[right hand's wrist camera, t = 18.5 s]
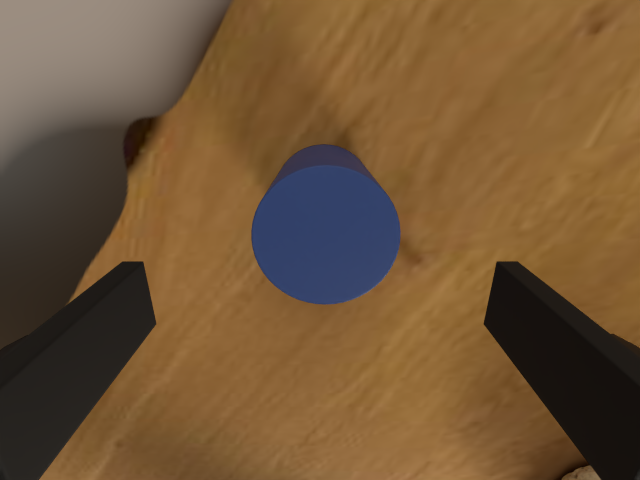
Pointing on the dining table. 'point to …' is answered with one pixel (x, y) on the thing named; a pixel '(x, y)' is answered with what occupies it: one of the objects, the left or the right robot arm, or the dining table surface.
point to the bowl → (582, 474)
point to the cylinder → (325, 227)
